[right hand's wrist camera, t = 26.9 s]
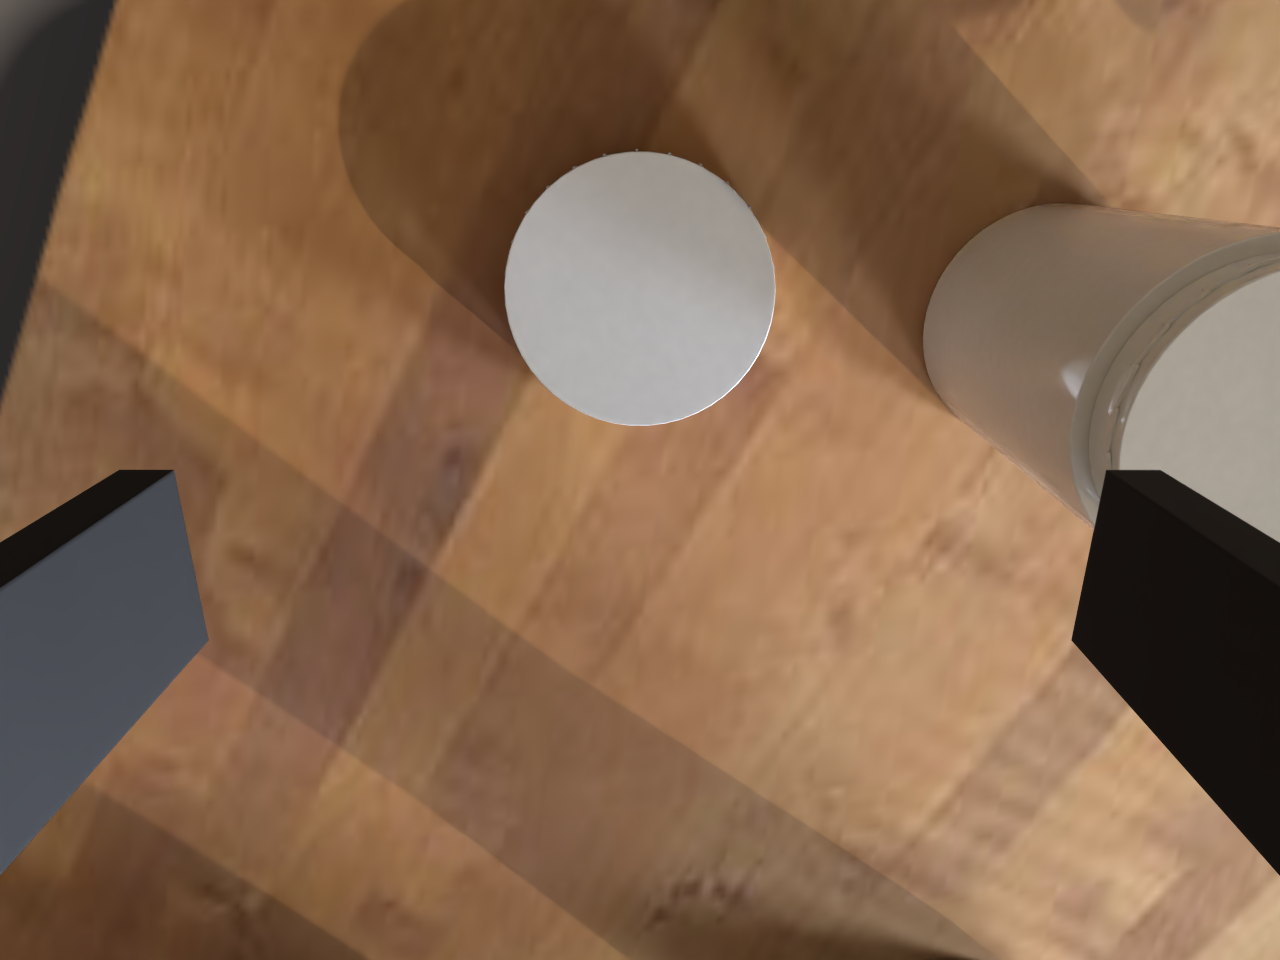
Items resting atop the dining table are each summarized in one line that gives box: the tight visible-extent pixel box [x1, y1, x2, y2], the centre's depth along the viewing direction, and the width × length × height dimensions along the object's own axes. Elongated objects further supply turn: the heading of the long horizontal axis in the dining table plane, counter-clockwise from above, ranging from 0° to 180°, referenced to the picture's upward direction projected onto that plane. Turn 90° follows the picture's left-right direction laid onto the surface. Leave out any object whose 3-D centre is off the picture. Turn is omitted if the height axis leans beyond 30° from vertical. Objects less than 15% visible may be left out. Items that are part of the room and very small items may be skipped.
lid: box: [504, 149, 775, 425], centre depth 36 cm, size 11×11×2 cm
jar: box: [923, 203, 1280, 542], centre depth 30 cm, size 10×10×16 cm
